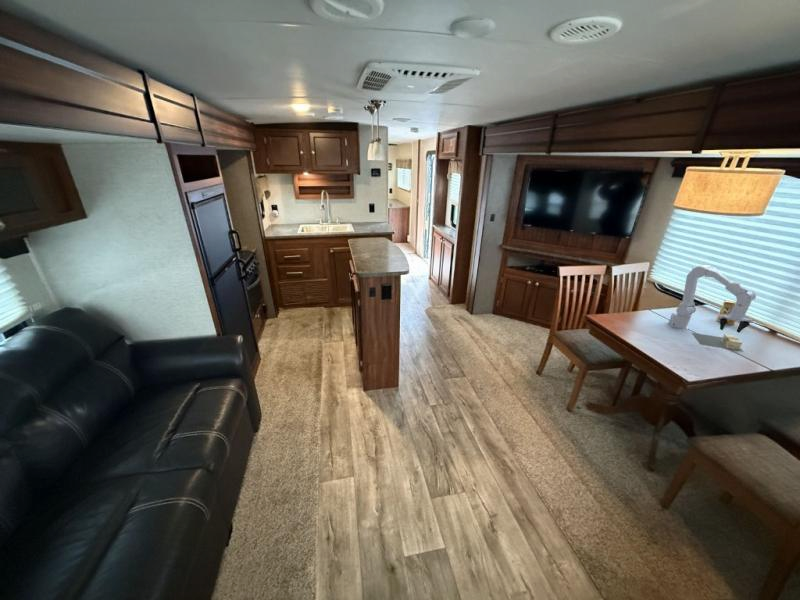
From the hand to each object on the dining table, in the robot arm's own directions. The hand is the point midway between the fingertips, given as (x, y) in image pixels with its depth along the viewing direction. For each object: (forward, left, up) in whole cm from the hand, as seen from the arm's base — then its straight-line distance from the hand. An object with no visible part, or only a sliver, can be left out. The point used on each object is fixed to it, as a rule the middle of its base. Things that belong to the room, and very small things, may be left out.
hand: (729, 330), depth 186 cm
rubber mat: (-3, 0, -9) cm, 10 cm away
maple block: (+3, -1, -9) cm, 9 cm away
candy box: (+13, +37, -10) cm, 40 cm away
